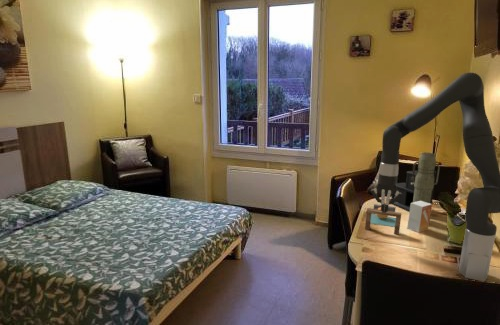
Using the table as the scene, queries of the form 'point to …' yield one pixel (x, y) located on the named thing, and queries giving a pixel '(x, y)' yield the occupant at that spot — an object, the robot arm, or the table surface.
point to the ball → (381, 215)
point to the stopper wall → (388, 207)
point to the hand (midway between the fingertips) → (384, 212)
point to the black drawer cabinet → (408, 192)
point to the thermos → (424, 177)
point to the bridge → (389, 213)
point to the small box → (419, 216)
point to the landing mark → (383, 221)
